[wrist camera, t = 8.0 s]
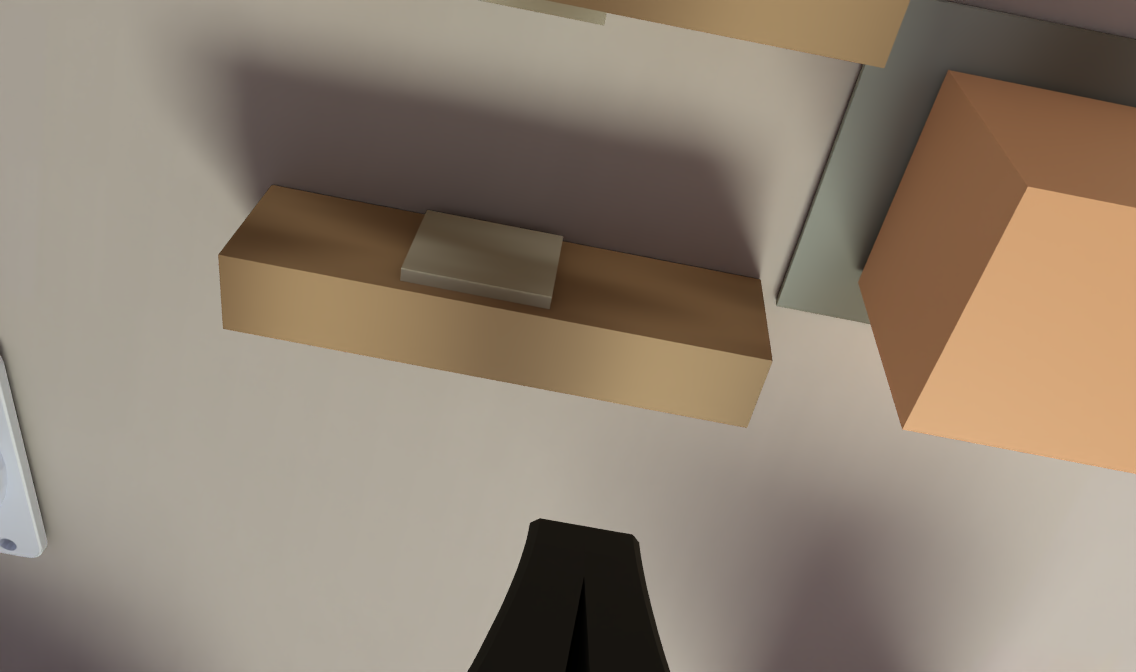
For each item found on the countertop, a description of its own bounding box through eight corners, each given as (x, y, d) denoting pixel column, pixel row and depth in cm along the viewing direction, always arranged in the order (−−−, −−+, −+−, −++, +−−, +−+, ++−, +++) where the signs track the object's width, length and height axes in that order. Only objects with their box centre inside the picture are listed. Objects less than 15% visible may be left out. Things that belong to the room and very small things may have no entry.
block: (857, 282, 20) (902, 429, 16) (948, 69, 17) (1027, 186, 13) (1072, 324, 20) (1167, 479, 16) (1196, 120, 17) (1346, 249, 14)
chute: (273, 253, 22) (223, 328, 19) (263, -222, 16) (189, -200, 13) (1007, 394, 22) (1048, 484, 20) (1250, -18, 16) (1351, 37, 14)
